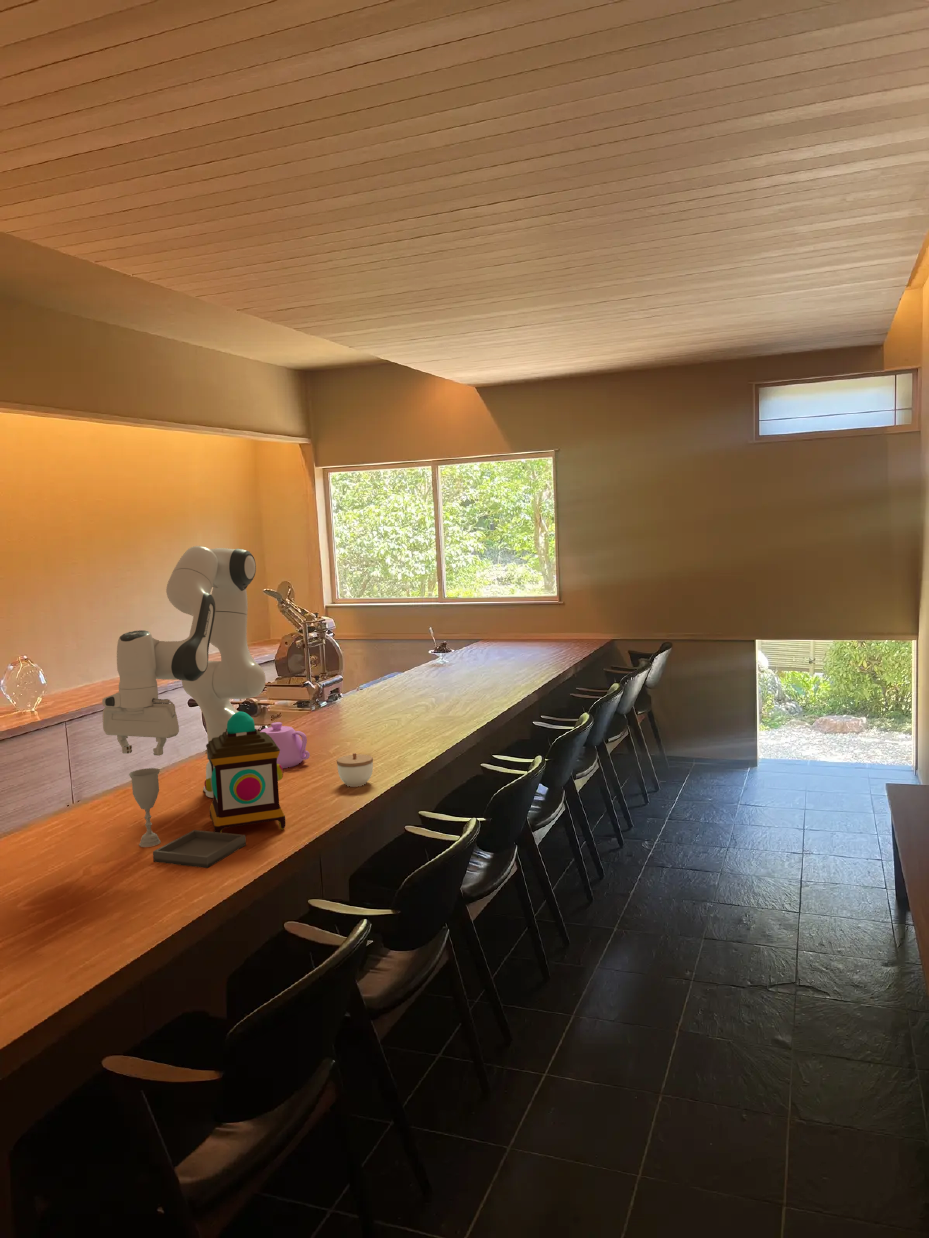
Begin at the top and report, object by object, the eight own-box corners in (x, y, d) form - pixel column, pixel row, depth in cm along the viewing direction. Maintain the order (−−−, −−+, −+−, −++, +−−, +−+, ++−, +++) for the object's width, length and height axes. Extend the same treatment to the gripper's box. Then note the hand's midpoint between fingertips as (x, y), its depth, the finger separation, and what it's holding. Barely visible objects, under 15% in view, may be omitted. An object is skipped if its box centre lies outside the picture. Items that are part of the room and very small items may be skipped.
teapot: (322, 757, 290) (319, 717, 289) (297, 772, 273) (294, 729, 272) (256, 755, 297) (253, 716, 296) (228, 768, 280) (225, 727, 279)
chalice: (155, 836, 217) (150, 766, 216) (170, 841, 213) (165, 770, 211) (128, 845, 212) (123, 773, 210) (143, 850, 207) (138, 777, 206)
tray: (194, 839, 214) (194, 829, 214) (246, 844, 209) (245, 834, 208) (153, 861, 200) (152, 851, 200) (207, 868, 195) (206, 857, 194)
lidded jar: (330, 787, 255) (329, 756, 254) (351, 777, 264) (350, 747, 264) (360, 790, 250) (359, 759, 249) (381, 780, 259) (379, 750, 259)
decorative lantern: (204, 819, 230) (197, 708, 227) (279, 808, 236) (273, 700, 234) (210, 843, 211) (202, 723, 208) (291, 830, 218) (285, 714, 215)
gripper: (182, 696, 208) (186, 753, 209) (115, 694, 215) (119, 749, 217) (165, 701, 202) (169, 759, 204) (96, 699, 210) (100, 755, 211)
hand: (142, 754), depth 210 cm, fingers open, 8 cm apart
